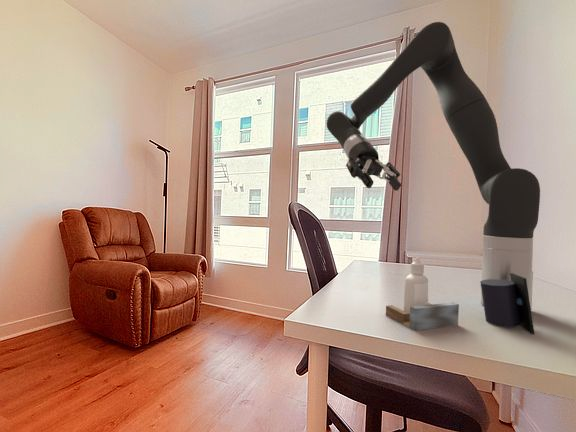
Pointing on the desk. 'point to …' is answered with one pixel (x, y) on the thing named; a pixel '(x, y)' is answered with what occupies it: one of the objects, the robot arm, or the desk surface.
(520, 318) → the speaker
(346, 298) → the desk surface
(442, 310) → the grey brown angular piece
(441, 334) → the desk surface
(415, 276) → the eye dropper bottle
